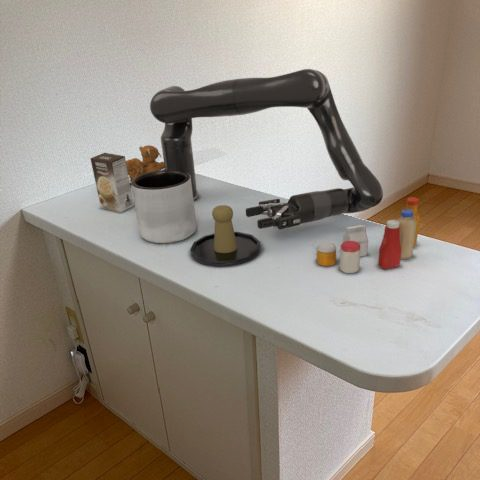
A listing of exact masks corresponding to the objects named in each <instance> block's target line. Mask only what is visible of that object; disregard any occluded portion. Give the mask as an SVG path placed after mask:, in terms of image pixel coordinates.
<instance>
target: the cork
mask: <svg viewBox="0 0 480 480" xmlns="http://www.w3.org/2000/svg"><path fill="white" fill-rule="evenodd" d="M211 216H212V219H213V220H214V233H215V234H214V233H213V234H214V250H215V251H216V252H219V253H229V252H233V251H235V250H236V249H237V243H236V238H235V234H234V232H235V229H234V224H233V220H232V219H233V217H234V210H233V208H232V207H231V206H229V205H227V204H226V205H225V204H223V205H222V204H221V205H217V206H215V207H214V208H213V209H212V212H211Z"/></svg>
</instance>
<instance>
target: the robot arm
mask: <svg viewBox="0 0 480 480" xmlns="http://www.w3.org/2000/svg"><path fill="white" fill-rule="evenodd" d="M271 108H302V109H307V110H308V112H309V113H310V114H311V116H312V117H313V119H314V120H315V122H316V124H317V126H318V128H319V131H320V132H321V136H322V139H323V141H324V145H325V149H326V151H327V153H328V156H329V158H330V160H331V162H332V165H333V166H334V168H335V170H336V172H337V174H338V176H339V177H340V179H341V180H343V181H348V182H349V183H350V184H351V186H352V187H349V188H340V187H337V188H330V189H325V190H314V191H310V192H303V193H298V194H293V195H290V197H289V199H288V201H287V202H281V198H274V199H269V200H262V201H258V205H257V206H256V205H255V206H251V207H247V208H245V216H246V217H247V218H251V217H256V216H261V215H262V216H267V217H264V218H261V219H257V221H256V222H257V228H258V229H259V230H261V229H266V228H272V227H273V228H277V229H278V230H285V229H289V228H294V227H298V226H300V225H302V224H307V223H311V222H317V221H322V220H324V219H328V218H331V217H336V216H340V215H343V214H344V215H345V214H355V213H360V212H365V211H368V210H369V209H371V208H374V207H376V206H378V205H379V204H381V202H382V200H383V198H384V191H383V187H382V184H381V183H380V181H379V179H378V178H377V177H376V175H374V173H373V172H372V171H371V170H370V169H369V167H368V166H367V165H366V164H365V163H364V161H363V159H362V157H361V155H360V153H359V151H358V149H357V146H356V145H355V143H354V141H353V140H352V138H351V136H350V133H349V132H348V130H347V128H346V126H345V124H344V122H343V120H342V117H341V115H340V113H339V110H338V107H337V105H336V102H335V99H334V95H333V91H332V89H331V85H330V83H329V80H328V77H327V76H326V75H325V74H324V73H323V72H322V71H319V70H317V69H313V68H304V69H300V70H296V71H293V72H289V73H285V74H281V75H277V76H276V75H275V76H272V77H271V76H270V77H245V78H243V77H242V78H233V79H226V80H222V81H217V82H213V83H210V84H207V85H204V86H201V87H197V88H194V89H189V90H185V89H184V88H182V87H181V86H178V85H171V86H168V87H166V88H163V89H160V90H159V91H157V92H156V93H155V94H154V95H152V97H151V100H150V102H149V109H150V112H151V115H152V116H153V117H154V119H156V120H157V121H159V122H161V123H163V124H164V128H163V131H162V133H161V135H160V145H161V149H162V150H161V152H162V158H163V162H164V166H165V168H164V169H162V170H179V171H183V172H186V173H188V174H189V175H190V176H191V184H192V192H193V200H194V201H196V200H197V199H198V197H199V194H198V189H197V179H196V170H195V162H194V161H195V160H194V153H193V144H192V135H193V119H195V118H196V119H197V118H219V117H220V118H221V117H222V118H223V117H236V116H243V115H244V116H245V115H250V114H254V113H258V112H261V111H264V110H267V109H271ZM129 183H130V187H132V186H131V182H129Z"/></svg>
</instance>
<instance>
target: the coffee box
mask: <svg viewBox="0 0 480 480" xmlns="http://www.w3.org/2000/svg"><path fill="white" fill-rule="evenodd" d="M126 161H127V160H126V156H125V155H121V154H116V153H115V154H114V153H109V152H102V153H101V154H98V155H95V156H92V157H90V163H91V168H92V172H93V173H92V174H93V178H94V182H95V186H96V192H97V195H98V200H99V205H100V208H101V209H102V210H103V209H104V210H107V211H111V212H112V211H113V212H116V213H123V212H124V211H127V210H129V209H130V208H133V207H134V199H133V193H132V188H131V186H130V183H131V182H130V177H129V175H128V172H127V166H126Z"/></svg>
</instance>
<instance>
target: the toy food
mask: <svg viewBox="0 0 480 480" xmlns="http://www.w3.org/2000/svg"><path fill="white" fill-rule="evenodd" d="M419 203H420V199H419V198H418V197H415V196H410V197H407V198H406V207H405V209H402V210H401V211H400V216H399V217H397V219H389V220H387V221H386V223H385V226H384V232H383V235H382V236H383V237H382V241H381V244H380V246H379V249H378V263H377V264H378V266H379V267H380V268H381V269H383V270H387V269H393V268H398V267H399V266H400V263H401V260H406V259H410V258H411V257H412V256H413V255H414V247H415V246H416V245H417V244H418V243H417V242H418V234H419V228H420V221H421V216H420V214H419V213H418V208H419V207H418V206H419ZM366 229H367V226H366V225H365V224H358V225H352V226H347V227H346V232H345V233H344V235H343V237H342V243H341V244H340V253H339V270H340V271H341V272H343V273H345V274H354V273H357V272H358V271H359V270H360V264H361V263H360V262H361V257H365V256H367V255H368V251H369V250H368V249H369V237H368V234H367V230H366ZM336 262H337V246H336V245H335V244H334V243H333V242H330V241H324V242H320V243H319V244H317V246H316V263H317V264H318V265H319V266H322V267H330V266H333V265H335V264H336Z"/></svg>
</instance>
